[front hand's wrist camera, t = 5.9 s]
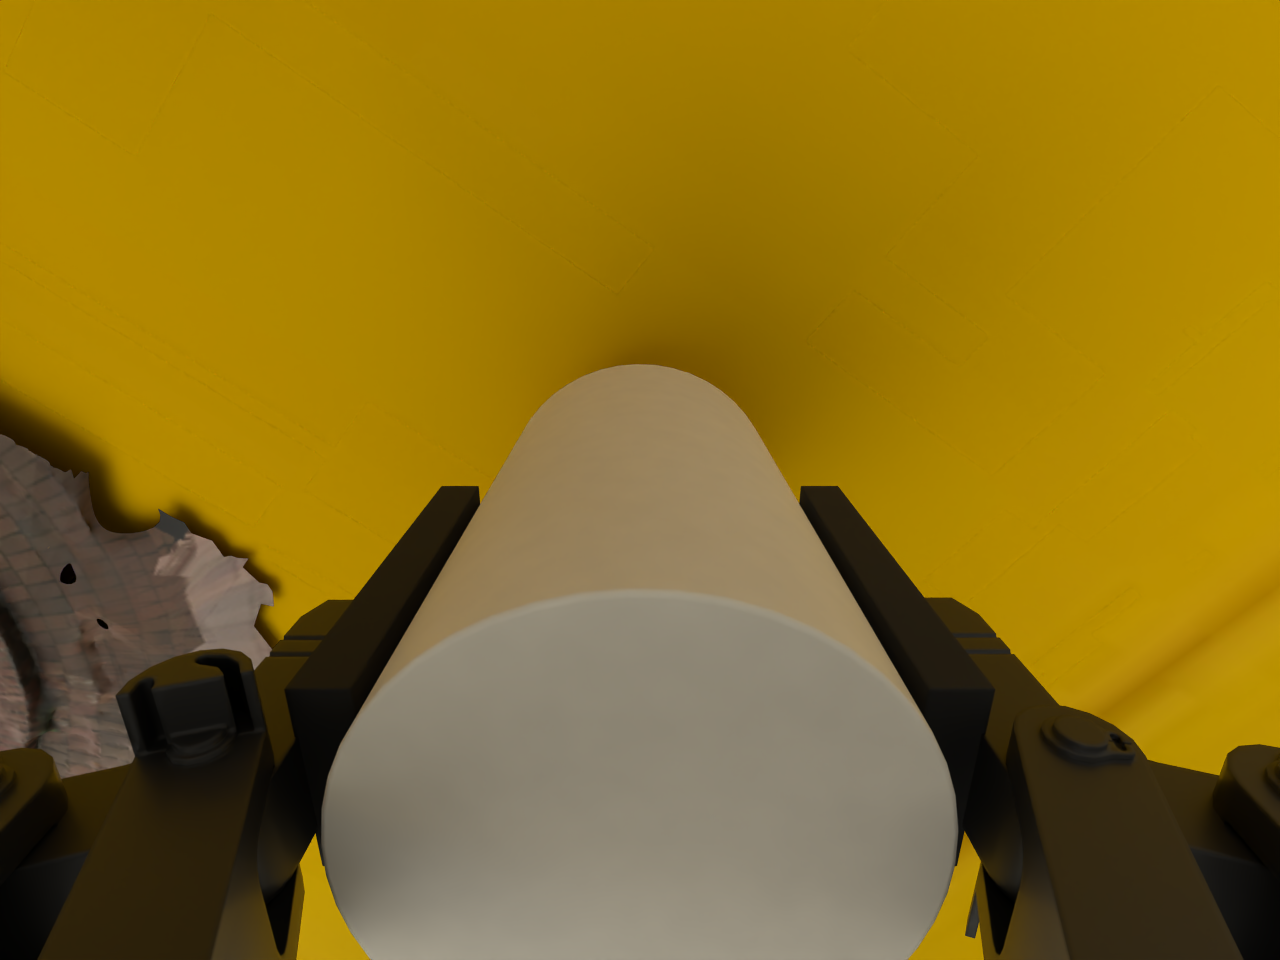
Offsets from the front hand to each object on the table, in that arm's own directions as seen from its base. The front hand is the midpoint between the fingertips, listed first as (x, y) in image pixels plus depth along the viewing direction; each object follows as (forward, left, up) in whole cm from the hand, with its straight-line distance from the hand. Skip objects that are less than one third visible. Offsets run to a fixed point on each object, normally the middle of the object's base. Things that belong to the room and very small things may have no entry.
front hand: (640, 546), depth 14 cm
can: (0, 0, -3) cm, 3 cm away
